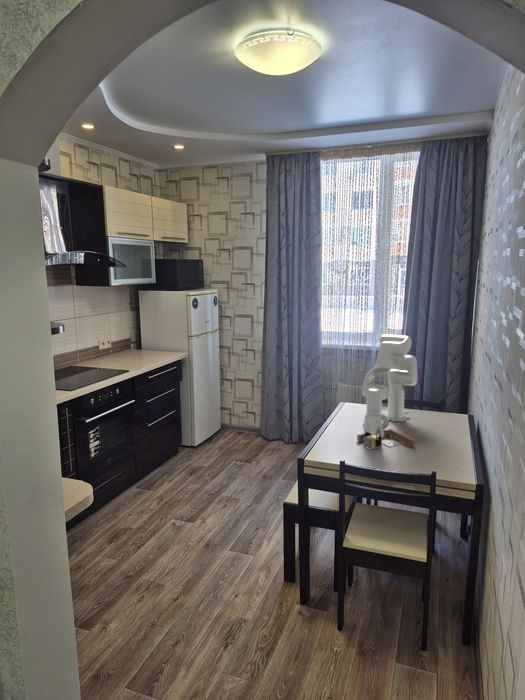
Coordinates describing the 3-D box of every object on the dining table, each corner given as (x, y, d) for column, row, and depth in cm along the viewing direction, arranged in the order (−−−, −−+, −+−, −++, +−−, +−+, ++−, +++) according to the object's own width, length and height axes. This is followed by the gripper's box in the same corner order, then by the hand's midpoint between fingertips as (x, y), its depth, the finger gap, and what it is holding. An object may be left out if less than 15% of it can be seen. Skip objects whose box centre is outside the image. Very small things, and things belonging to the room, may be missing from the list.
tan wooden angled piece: (389, 435, 258) (390, 428, 258) (414, 447, 240) (415, 440, 240) (357, 441, 250) (357, 434, 249) (380, 454, 231) (380, 447, 231)
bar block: (375, 443, 247) (376, 434, 246) (381, 446, 242) (382, 437, 241) (363, 445, 243) (363, 436, 243) (369, 449, 239) (369, 439, 238)
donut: (370, 429, 268) (371, 412, 267) (372, 427, 271) (372, 411, 270) (388, 431, 264) (388, 415, 262) (389, 429, 267) (390, 413, 265)
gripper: (357, 408, 246) (357, 439, 249) (378, 417, 230) (377, 450, 233) (369, 406, 249) (368, 437, 252) (390, 415, 233) (389, 448, 236)
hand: (372, 443), depth 243 cm, fingers open, 8 cm apart
